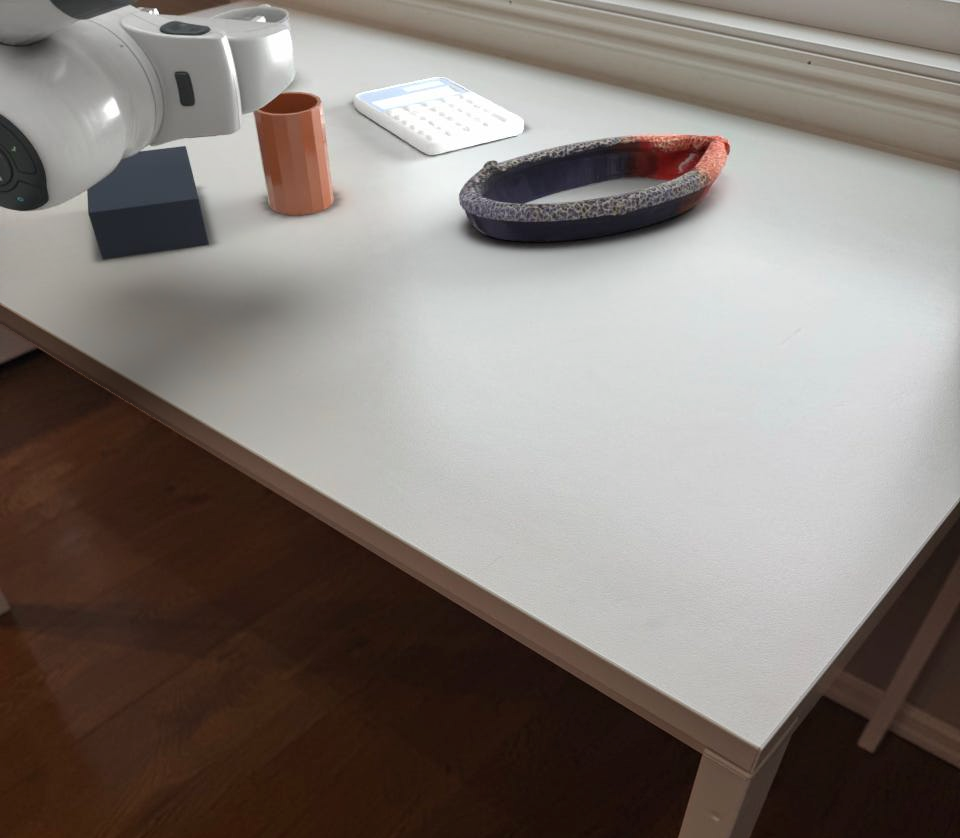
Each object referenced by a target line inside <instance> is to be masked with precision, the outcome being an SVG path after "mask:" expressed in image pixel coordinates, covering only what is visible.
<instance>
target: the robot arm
mask: <svg viewBox="0 0 960 838" xmlns="http://www.w3.org/2000/svg"><path fill="white" fill-rule="evenodd" d="M138 1H139V0H0V208H3V209H7V210H10V211H11V210H12V211H16V212H17V211H18V212H37V211H45V210H48V209H51V208H54V207H57V206H60V205H63V204H65V203H67V202H69V201H70V200H72V199H74V198H76V197H78V196H79V195H81V194H83V193H84V192H87V190H88V189H89V188H91V187H92V186H94V185H95V184H96V183H98V182H99V181H101V180H102V179H104V178H105V177H106V176H108V175H109V174H110V173H111V172H112V171H113V170H114V169H115V168H116V167H117V165H118V164H119V162H120V160H121V159H125V158H128V157H131V156H133V155H135V154H137V153H138V152H140V151H143V150H144V149H145V148H147V147H148V146H150V147H157V146H160V145H164V144H167V143H171V142H174V141H178V140H179V141H180V140H184V139H194V138H196V139H197V138H208V137H209V138H210V137H218V136H229V135H233V134H235V133H237V132H239V130H241V128H242V127H243V115H247V114H250V113H253V112H254V111H256V110H258V109H260V108H262V107H264V106H265V105H267V104H268V103H269V102H270V101H272V100H273V99H274V98H276V97H277V96H278V95H279V94H280V93H282V92H285V90H286V89H287V88H288V87H289V86H290V85H291V84H292V83H293V81H294V80H295V77H296V70H297V67H296V56H295V54H296V53H295V46H294V40H293V35H292V36H291V34H292V32H291V33H290V31H289V29H288V28H287V27H286V26H285V25H284V24H282V23H273V22H266V19H265V17H264V16H254V15H246V16H245V17H243V18H241V19H240V20H230V19H217V18H210V17H202V16H189V15H174V14H160V12H159V10H158V9H157V8H153V7H141V6H139V7H135V6H133V5H134V4H135V3H137V2H138ZM292 40H293V41H292ZM293 46H294V47H293Z"/></svg>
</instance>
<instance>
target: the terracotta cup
mask: <svg viewBox="0 0 960 838" xmlns="http://www.w3.org/2000/svg"><path fill="white" fill-rule="evenodd" d="M252 115H253V121H254V125H255V131H256V138H257V144H258V150H259V155H260V162H261V166H262V167H261V169H262V174H263V179H264V184H265V190H266V196H267V202H268V206H269V209H270V210H272V211H273V212H275V213H276V214H281V215H284V216H299V217H300V216H308V215H314V214H317V213H320V212H323V211H325V210H327V209H328V208H330V207H332V205H333V203H334V201H335V198H334V189H333V181H332V174H331V172H332V171H331V166H330V164H331V163H330V156H329V149H328V140H327V132H326V123H325V116H324V108H323V101H322V100H321V98H320V96H318V95H315V94H313V93H310V92H304V91H283V92H281V93H280V94H279V95H278V96H277V97H276V98H274V99H273V100H272V101H270V102H269V103H268V104H267V105H265V106H264V107H262V108H260V109H258V110H256V111H254V112H252Z"/></svg>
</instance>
